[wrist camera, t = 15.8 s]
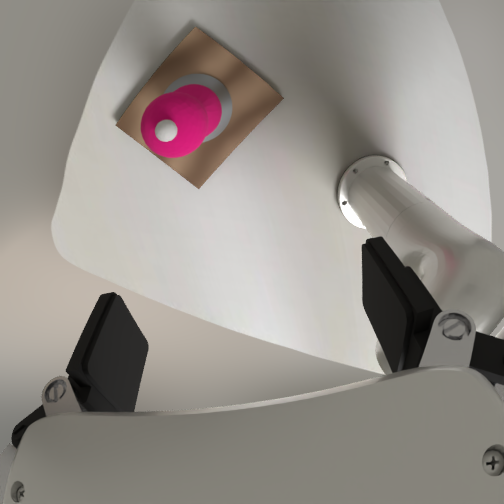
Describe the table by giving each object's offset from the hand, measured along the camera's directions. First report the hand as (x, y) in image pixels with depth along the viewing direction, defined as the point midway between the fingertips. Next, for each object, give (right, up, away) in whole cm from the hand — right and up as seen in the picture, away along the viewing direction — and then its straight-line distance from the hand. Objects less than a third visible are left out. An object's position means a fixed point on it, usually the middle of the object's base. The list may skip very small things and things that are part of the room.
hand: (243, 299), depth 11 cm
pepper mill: (-7, +21, +27) cm, 35 cm away
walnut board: (-7, +22, +29) cm, 37 cm away
